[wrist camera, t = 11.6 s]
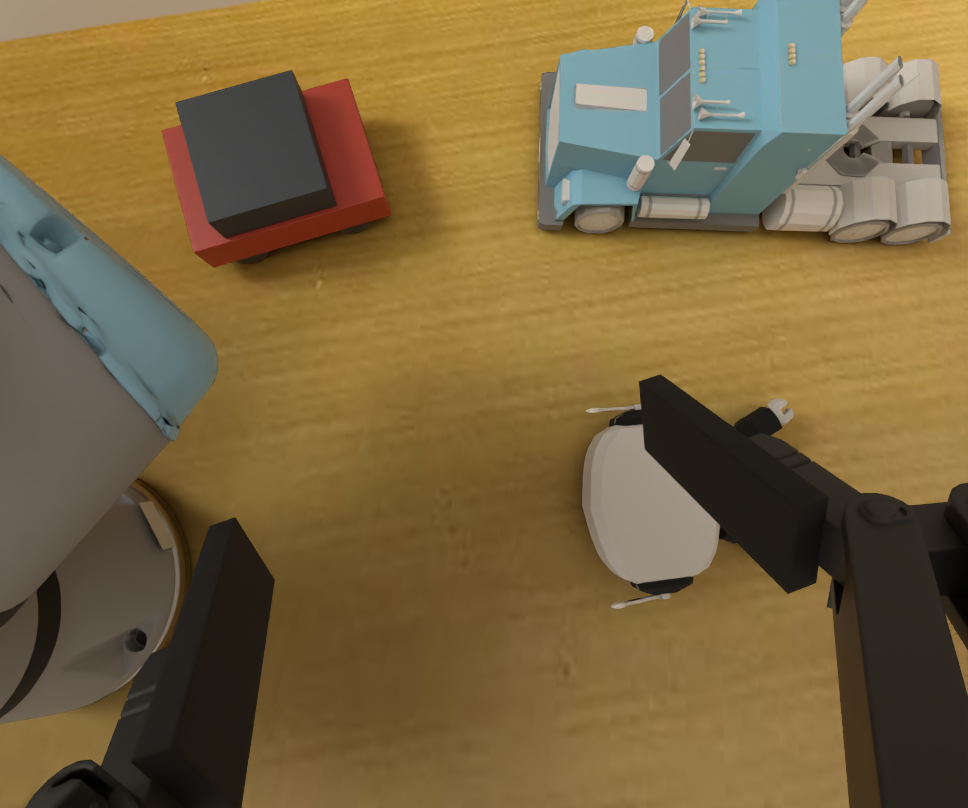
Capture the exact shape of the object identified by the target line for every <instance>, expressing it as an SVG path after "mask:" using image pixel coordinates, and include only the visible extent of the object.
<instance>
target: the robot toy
mask: <svg viewBox="0 0 968 808" xmlns="http://www.w3.org/2000/svg"><path fill="white" fill-rule="evenodd" d="M786 405H788V403H787V401H786V400H783V399H780V398H777V399H774V400H771V401H770V402H769V403H768V405H767V407H760V408H758V409H757V410H755V411H753V412H752V413H750V414H749V415H747V416H746V417H744V418H743V419H741V420H739V421H738V422H736V424H735V426H734V428H735V429H736V430H738V431H739V432H741V433H742V434H743V435H745V436H746V437H747V438H749V437H752V436H755V435H757V434H760V433H763V434H766V435H769V436H771V435H772V434H774V433H775V432H777V431H778V430H780V429H781V428H782V426H781V425H786V424H787V423H788V422H789V421H790V420H791V418H792V417H793V416H794V414H793V410H792V409H791V408H789V409H786V410H785V411H784V412H782V411H781V408H782V407H784V406H786ZM619 410H629V411H626V412H624V413H622V414H620V415H618V416H616V417H615V418H613V419H611V420H610V423H609V427H608V428H606V429H605V430H603V431H601V432H600V433H598V434H597V435H595V436H594V438H593V440H592V442H591V444H590V446H589V447H588V449H587V453H586V457H585V463H584V469H583V488H582V507H583V511H584V514H585V518H586V521H587V525H588V529H589V532H590V536H591V539H592V541H593V543H594V546H595V548H596V551H597V553H598V555H599V556H600V558H601V560H602V561H603V562H604V564H605V565H606V566H607V567H608V568H609V569H610V570H611V571H612V573H614V574H616V575H617V576H619V577H621V578H622V579H625V580H628V581H630V582H631V585H632V586H633V587H635V588H636V589H638V590H640V591H642V592H645V593H649V594H653V595H650V596H646V597H642V598H637V599H633V600H628V601H624V602H621V601H620V602H615V603H613V604H612V606H611V607H612V608H616V609H620V608H624V607H625V606H628V605H633V604H637V603H641V602H646V601H650V600H654V599H662V600H664V599H668V598H670V593H675V592H678V591H680V590H681V589H683V588H685V587H687V586H689V585H691V584H692V583H693V578H694V576H696V575H698V574H699V573H701V572H702V571H704V570H706V569H707V568H709V566H710V564H711V562H712V560H713V558H714V555H715V553H716V550H717V546H718V539H719V538H720V539H723V540H725V541H728V542H731V543H737V542H736V541H735V540H734V539H733V538H732V537H731V536H730V535H729V534H728V533H727V532H726V531H725V530H724V529H723V528H722V527H721V526H720V525H719V524H718V523H717V522H716V521H715V520H714V519H713V518H712V517H711V516H710V515H709V514H708V513H707V512H706V511H705V510H704V509H703V508H702V507H701V506H700V505H699V504H698V503H697V502H696V501H695V500H694V499H693V498H692V497H691V496H690V495H689V494H688V493H687V492H686V491H685V490H684V489H683V488H682V487H681V486H680V485H679V484H678V483H677V482H676V481H675V479H674V478H673V477H672V476H671V475H670V474H669V473H668V472H667V471H666V470H665V469H664V468H663V467H662V466H661V465H660V464H659V463H658V462H657V461H656V460H655V459H654V458H653V457H652V456H651V455H650V454H649V453H648V452H647V451H646V450H645V447H644V435H643V423H642V411H641V404H635V405H631V406H628V407H613V408H591V409H588V410H586V412H588V413H597V412H605V411H619Z"/></svg>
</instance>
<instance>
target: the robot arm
mask: <svg viewBox="0 0 968 808" xmlns="http://www.w3.org/2000/svg"><path fill="white" fill-rule="evenodd" d="M217 372H218V354H217V351H216V348H215V346H214V344H213V342H212V341H211V339H210V338H209V337H208V335H207V334H206V333H205V332H204V331H203V330H202V329H201V328H200V327H199V326H198V325H197V324H196V323H195V322H194V321H193V320H192V319H191V318H189V317H188V316H187V315H186V314H185V313H184V312H183V311H182V310H181V309H180V308H179V307H178V306H176V305H175V304H174V303H173V302H172V301H171V300H170V299H169V298H168V297H167V296H165V295H164V294H163V293H162V292H161V291H160V290H159V289H158V288H156V287H155V286H154V285H153V284H152V283H151V282H150V281H149V280H148V279H146V278H145V277H144V276H143V275H142V274H141V273H140V272H138V271H137V270H136V269H135V268H134V267H133V266H132V265H130V264H129V263H128V262H127V261H126V260H125V259H124V258H122V257H121V256H120V255H119V254H118V253H117V252H115V251H114V250H113V249H112V248H111V247H110V246H108V245H107V244H106V243H105V242H104V241H103V240H101V239H100V238H99V237H98V236H97V235H96V234H95V233H93V232H92V231H91V230H90V229H89V228H88V227H86V226H85V225H84V224H83V223H82V222H81V221H80V220H78V219H77V218H76V217H75V216H74V215H73V214H71V213H70V212H69V211H68V210H67V209H65V208H64V207H63V206H62V205H61V204H60V203H58V202H57V201H56V200H55V199H54V198H52V197H51V196H50V195H49V194H48V193H47V192H45V191H44V190H43V189H42V188H41V187H39V186H38V185H37V184H36V183H35V182H33V181H32V180H31V179H30V178H29V177H27V176H26V175H25V174H24V173H23V172H21V171H20V170H19V169H18V168H16V167H15V166H14V165H13V164H11V163H10V162H9V161H8V160H6V159H5V158H4V157H3V156H1V155H0V724H3V723H9V722H14V721H20V720H26V719H31V718H37V717H42V716H48V715H54V714H59V713H63V712H67V711H71V710H74V709H78V708H82V707H84V706H87V705H90V704H92V703H95V702H97V701H99V700H101V699H103V698H105V697H106V696H108V695H110V694H111V693H113V692H114V691H116V690H118V689H119V688H121V687H122V686H124V685H126V684H127V683H129V682H130V681H132V680H134V681H133V683H132V686H131V689H130V691H129V694H128V697H127V698H128V701H126V702H125V705H124V707H123V710H122V712H121V719H120V720H118V723H117V726H116V728H115V731H114V733H113V736H112V739H111V741H110V744H109V747H108V749H107V752H106V754H105V757H104V760H103V762H102V765H101V766H99V765H98V764H97V763H95V762H94V761H92V760H83V761H77V762H75V763H73V764H71V765H69V766H67V767H65V768H63V769H62V770H60V771H59V772H58V773H56V774H55V775H54V776H53V777H51V778H50V779H49V780H48V781H47V782H46V783H45V784H44V785H43V786H42V787H41V788H40V789H39V790H38V791H37V792H36V793H35V794H34V795H33V797H32V798H31V800H30V801H29V803H28V804H27V806H26V807H25V808H241V807H242V800H243V793H244V786H245V780H246V773H247V766H248V759H249V752H250V745H251V739H252V732H253V725H254V718H255V711H256V704H257V698H258V691H259V684H260V677H261V670H262V663H263V657H264V650H265V643H266V636H267V629H268V622H269V616H270V609H271V602H272V595H273V588H274V581H275V579H274V578H273V576H272V575H271V573H270V572H269V570H268V568H267V567H266V565H265V564H264V562H263V560H262V559H261V557H260V556H259V554H258V553H257V551H256V549H255V548H254V546H253V545H252V543H251V541H250V540H249V538H248V537H247V535H246V534H245V532H244V530H243V529H242V527H241V526H240V524H239V523H238V521H237V519H236V518H232V519H229V520H226V521H223V522H220V523H218V524H215V525H212V526H209V529H208V532H207V535H206V538H205V541H204V544H203V547H202V550H201V553H200V556H199V559H198V562H197V565H196V568H195V571H194V574H193V577H192V580H191V583H190V558H189V552H188V547H187V543H186V540H185V536H184V533H183V531H182V529H181V526H180V524H179V522H178V520H177V518H176V517H175V515H174V513H173V512H172V510H171V509H170V508H169V506H168V505H167V504H166V503H165V501H164V500H163V499H162V498H161V497H160V496H159V495H158V494H157V493H156V492H155V491H154V490H152V489H151V488H150V487H148V486H147V485H146V484H144V483H143V482H141V481H139V480H138V479H136V478H137V477H138V476H139V475H140V474H141V473H142V472H143V471H144V470H145V468H146V467H147V466H148V465H149V464H150V463H151V462H152V461H153V459H154V458H155V457H156V456H157V455H158V454H159V453H160V452H161V451H162V449H163V448H164V447H165V446H166V445H167V444H168V443H169V442H170V440H171V441H174V440H175V439H176V438H177V435H178V434H179V433H180V427H179V426H180V425H181V424H182V422H183V421H184V420H185V419H186V417H187V416H188V415H189V413H190V412H191V411H192V410H193V408H194V407H195V406H196V405H197V403H198V402H199V401H200V400H201V398H202V397H203V396H204V395H205V393H206V392H207V391H208V389H209V388H210V387H211V386H212V384H213V383H214V380H215V378H216V375H217ZM639 387H640V399H641V411H642V423H643V435H644V447H645V450H646V451H647V452H648V453H649V454H650V455H651V456H652V457H653V458H654V459H655V460H656V461H657V462H658V463H659V464H660V465H661V466H662V467H663V468H664V469H665V470H666V471H667V472H668V473H669V474H670V475H671V476H672V477H673V478H674V479H675V481H676V482H677V483H678V484H679V485H680V486H681V487H682V488H683V489H684V490H685V491H686V492H687V493H688V494H689V495H690V496H691V497H692V498H693V499H694V500H695V501H696V502H697V503H698V504H699V505H700V506H701V507H702V508H703V509H704V510H705V511H706V512H707V513H708V514H709V515H710V516H711V517H712V518H713V519H714V520H715V521H716V522H717V523H718V524H719V525H720V526H721V527H722V528H723V529H724V530H725V531H726V532H727V533H728V534H729V535H730V536H731V537H732V538H733V539H734V540H735V541H736V542H737V543H738V544H739V545H740V546H741V547H742V548H743V549H744V550H745V551H746V552H747V553H748V554H749V555H750V556H751V557H752V558H753V559H754V560H755V561H756V562H757V563H758V564H759V565H760V566H761V567H762V568H763V569H764V570H765V571H766V572H767V573H768V574H769V575H770V576H771V577H772V578H773V579H774V580H775V581H776V582H777V583H778V584H779V585H780V586H781V588H782V589H783V590H784V591H785V592H786V593H787V594H789V593H792V592H794V591H797V590H799V589H802V588H804V587H807V586H809V585H812V584H814V583H816V580H817V573H818V566H820V567H821V568H822V569H824V570H825V571H826V572H827V573H828V574H829V575H830V576H832V580H831V586H830V592H829V598H828V604H827V607H829V608H832V609H833V621H834V632H835V644H836V656H837V667H838V679H839V690H840V702H841V714H842V725H843V737H844V748H845V760H846V772H847V783H848V795H849V806H850V808H968V695H967V691H966V688H965V684H964V680H963V677H962V673H961V670H960V666H959V662H958V659H957V655H956V652H955V648H954V644H953V641H952V637H951V633H950V630H949V626H948V623H947V619H946V616H947V617H948V619H949V620H950V622H951V624H952V625H953V627H954V629H955V630H956V632H957V633H958V635H959V637H960V638H961V640H962V642H963V643H964V645H965V646H966V648H967V650H968V483H964V484H959V485H958V486H956V487H954V488H952V490H951V493H950V495H949V499H948V502H943V503H932V504H921V505H907V504H906V503H904V502H903V501H901V500H898V499H896V498H894V497H891V496H888V495H883V494H878V493H860V492H858V491H857V490H855V489H854V488H852V487H851V486H849V485H848V484H846V483H845V482H843V481H842V480H840V479H839V478H838V477H836V476H835V475H833V474H832V473H830V472H829V471H827V470H826V469H824V468H823V467H821V466H820V465H818V464H817V463H815V462H814V461H813V462H811V460H810V459H809V458H808V457H806V456H805V455H803V454H802V453H798V450H796V449H795V448H793V447H792V446H790V445H789V444H787V443H786V442H784V441H783V440H781V439H778V438H775V437H772V436H769V435H766V434H763V433H760V434H757V435H755V436H752V437H749V438H747V437H746V436H745V435H743V434H742V433H741V432H739V431H738V430H736V429H735V428H734V427H732V426H731V425H730V424H728V423H727V422H725V421H724V420H723V419H721V418H720V417H719V416H717V415H716V414H714V413H713V412H712V411H710V410H709V409H708V408H706V407H705V406H703V405H702V404H701V403H699V402H698V401H697V400H695V399H694V398H692V397H691V396H690V395H688V394H687V393H686V392H684V391H683V390H681V389H680V388H679V387H677V386H676V385H674V384H673V383H672V382H670V381H669V380H668V379H666V378H665V377H663V376H662V375H661V374H660V375H657V376H654V377H651V378H648V379H645V380H642V381H639ZM945 614H946V615H945ZM170 641H171V642H170ZM169 642H170V645H169V647H167V645H168V644H169ZM166 647H167V648H166Z"/></svg>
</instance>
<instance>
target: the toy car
mask: <svg viewBox="0 0 968 808" xmlns="http://www.w3.org/2000/svg"><path fill="white" fill-rule="evenodd" d="M176 107H177V111H178V114H179V118H180V122H181V125H180V126H176V127H173V128H169V129H165V130H162V135H163V138H164V142H165V146H166V150H167V153H168V157H169V161H170V165H171V168H172V172H173V176H174V180H175V184H176V187H177V191H178V195H179V199H180V202H181V206H182V210H183V214H184V217H185V221H186V225H187V229H188V232H189V236H190V240H191V244H192V248H193V251H194V253H195V254H197V255H198V256H199V257H201V258H202V259H203V260H205V261H206V262H207V263H209V264H210V265H211V266H213V267H217V266H221V265H224V264H227V263H231V262H234V261H237V262H240V263H255V262H259V261H261V260H263V259H265V258H266V257H267V256H268V251H271V250H275V249H278V248H282V247H285V246H288V245H292V244H295V243H298V242H302V241H305V240H309V239H312V238H315V237H319V236H322V235H325V234H329V233H332V232H336V231H339V230H340V231H341V232H343V233H357V232H360V231H363V230H365V229H366V228H368V227H369V225H370V224H371V221H373V220H376V219H380V218H383V217H386V216H390V215H391V212H390V209H389V206H388V202H387V199H386V196H385V193H384V190H383V187H382V183H381V180H380V177H379V174H378V171H377V168H376V164H375V161H374V158H373V155H372V152H371V149H370V145H369V142H368V139H367V136H366V133H365V129H364V126H363V123H362V120H361V117H360V114H359V110H358V107H357V104H356V101H355V98H354V95H353V92H352V89H351V86H350V83H349V80H348V79H343V80H340V81H336V82H332V83H329V84H325V85H322V86H318V87H315V88H311V89H308V90H304V91H302V90H301V88H300V86H299V84H298V82H297V80H296V78H295V76H294V73H293V71H292V70H290V71H286V72H283V73H279V74H276V75H272V76H268V77H265V78H261V79H258V80H254V81H251V82H247V83H243V84H240V85H236V86H233V87H229V88H225V89H222V90H218V91H215V92H211V93H208V94H204V95H200V96H197V97H193V98H190V99H186V100H182V101H179V102H176Z"/></svg>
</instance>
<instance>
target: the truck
mask: <svg viewBox="0 0 968 808" xmlns="http://www.w3.org/2000/svg"><path fill="white" fill-rule="evenodd" d="M867 1H868V0H758V1H757V3H756V5H755V6H754V8H753V9H752V10H748V9H722V8H704V7H702V6H700V5H699V6H698V8H696V7H692V8H691V7H690V4H689V2H688V0H686V1H685V3H684V5H683V7H682V9H681V11H680V13H679V15H678V18H677V20H676V22H675V24H674V25H673V26H672V27H671V28H670V29H669V30H668V31H667V32H666V33H665V34H664V35H663V36H662V37H661V38H660V39H659V40H658V41H656V42H652V39H653V36H654V32H653V30H652V28H650V27H649V26H642V27H640V28H639V29H638V30H637V33H636V35H635V38H634V41H633V43H632V45H628V46H620V47H613V48H605V49H598V50H584V49H582V50H579V51H575V52H574V53H568V54H561V56H560V59H559V63H558V67H557V71H556V72H546V73H542V79H541V82H540V91H541V102H540V140H539V192H538V211H537V215H538V216H537V220H538V228H540V229H542V230H560V229H561V227H562V226H563V222H564V219H565V218H566V217H567V216H569V215H570V214H571V213H572V212H573V211H574V210H575V214H574V226H575V227H576V228H577V229H578V230H579V231H582V232H585V233H592V234H601V233H606V232H611V231H614V230H615V229H617V228H619V227H621V226H622V224H623V222H624V206H629V211H628V227H643V228H668V229H694V230H719V231H745V232H753V231H754V230H755V229H757V228H758V227H759V214H760V213H761V212H762V221H763V225H764V226H765V228H766V229H767V230H783V231H812V232H818V231H828V230H829V235H830V238H831V240H832V241H834V242H836V243H854V242H860V241H865V240H868V239H871V238H874V237H877V236H880V238H881V242H882V243H884V244H887V245H903V244H909V243H915V242H918V241H922V240H925V239H928V243H934V242H936V241H938V240H940V239H942V238H944V237H946V236H948V235H950V234H951V227H950V226H951V219H950V207H949V194H948V183H947V176H946V163H945V151H944V138H943V125H942V112H941V92H940V80H939V67H938V64H937V63H935V62H934V61H933V60H932V59H915V60H911V61H908V62H905V63H903V61H902V59H901V56H898V57H897V58H896V59H895V60H894V61H893V62H892V63H891V64H890V65H889V66H888V67H887V63H886V62H885V61H884V60H883V59H881V58H880V57H863V58H859V59H856V60H853V61H850V62H847V63H845V64H843V63H842V44H841V37H842V36H843V34H844V33H845V32H846V31H847V30H848V28H849V27H850V26H851V25H852V22H853V21H852V19H853V18H854V17H855V16H856V15H857V13H858V12H859V11H860V10H861V9H862V7H863V6H864V5H865V4H866V3H867ZM687 2H688V4H689V7H690V10H689V11H688V12H687V13H686V14H685V15H684V16H683V17H682V18H681V15H682V13H683V11H684V8H685V6H686V4H687ZM872 115H873V117H871V116H872ZM843 147H850V157H848V156H847V155H846V154H845V153H844V150H843ZM863 148H866V151H867V154H866V153H862V154H861V155H860V149H863ZM892 149H902V159H903V164H901V163H893V157H892ZM913 150H921V151H922V164H914V152H913Z"/></svg>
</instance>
